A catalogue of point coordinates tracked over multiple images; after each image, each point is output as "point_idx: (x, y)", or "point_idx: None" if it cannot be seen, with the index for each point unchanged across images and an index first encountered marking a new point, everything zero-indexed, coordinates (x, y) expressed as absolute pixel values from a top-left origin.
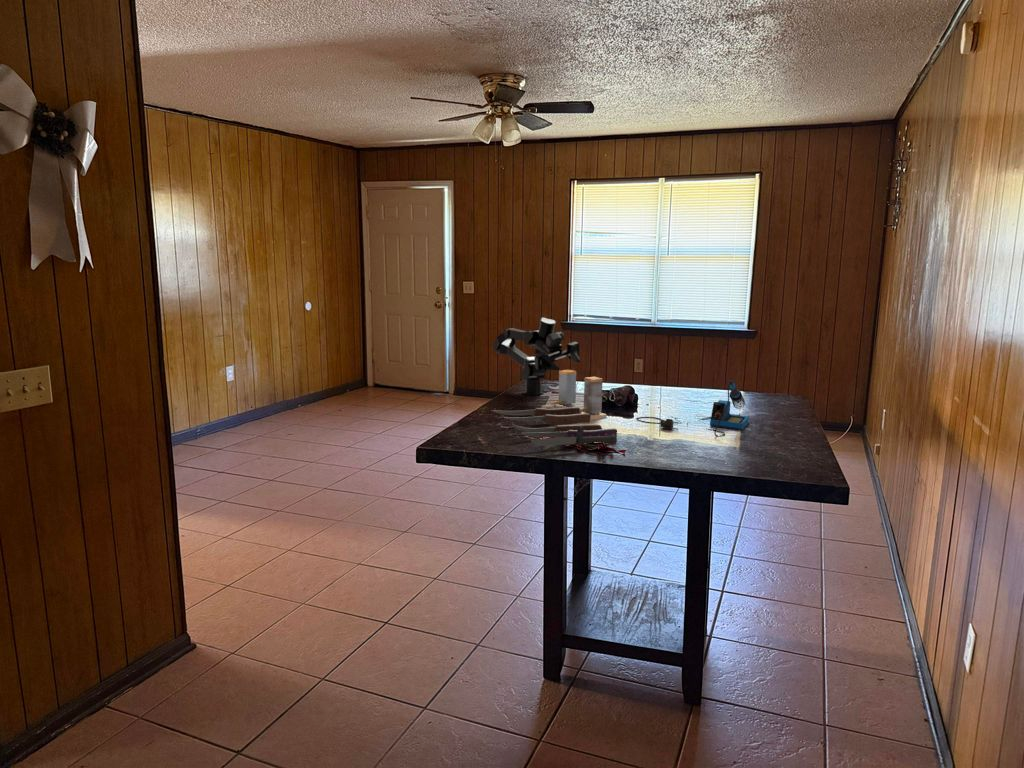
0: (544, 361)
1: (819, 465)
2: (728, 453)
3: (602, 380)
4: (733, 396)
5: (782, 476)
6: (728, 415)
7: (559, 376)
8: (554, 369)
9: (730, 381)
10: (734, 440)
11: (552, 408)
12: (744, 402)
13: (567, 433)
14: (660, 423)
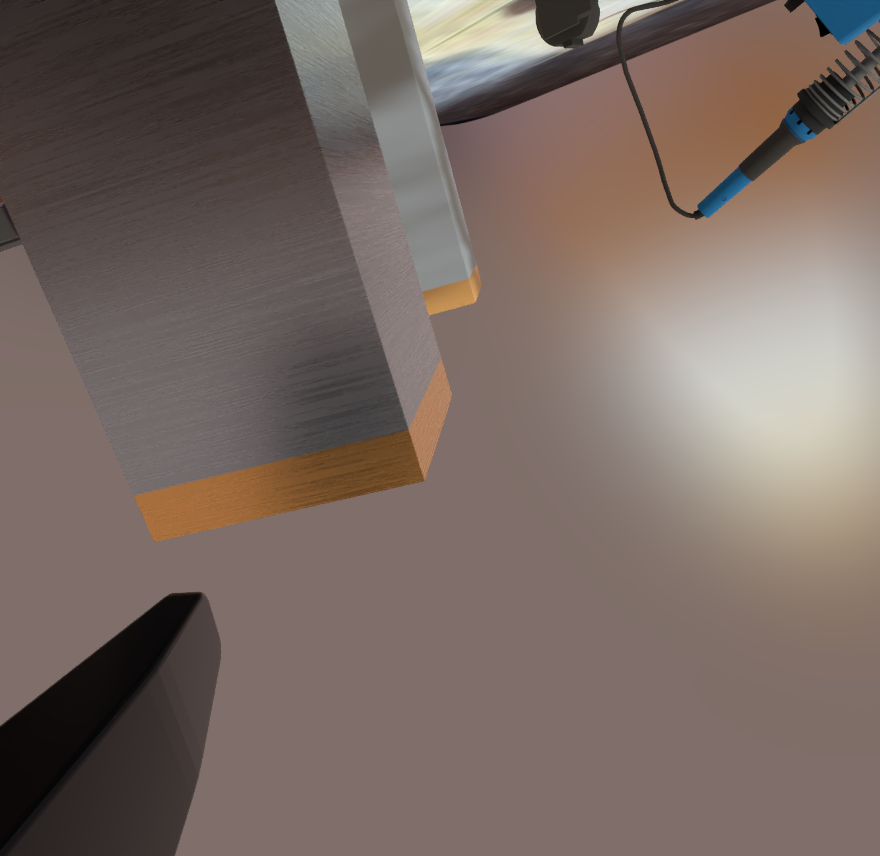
0: None
1: (583, 75)
2: (487, 81)
3: (476, 267)
4: (786, 115)
5: (455, 116)
6: None
7: (107, 412)
8: (32, 725)
9: (695, 218)
10: (627, 21)
11: None
12: None
13: (13, 229)
14: (540, 22)
